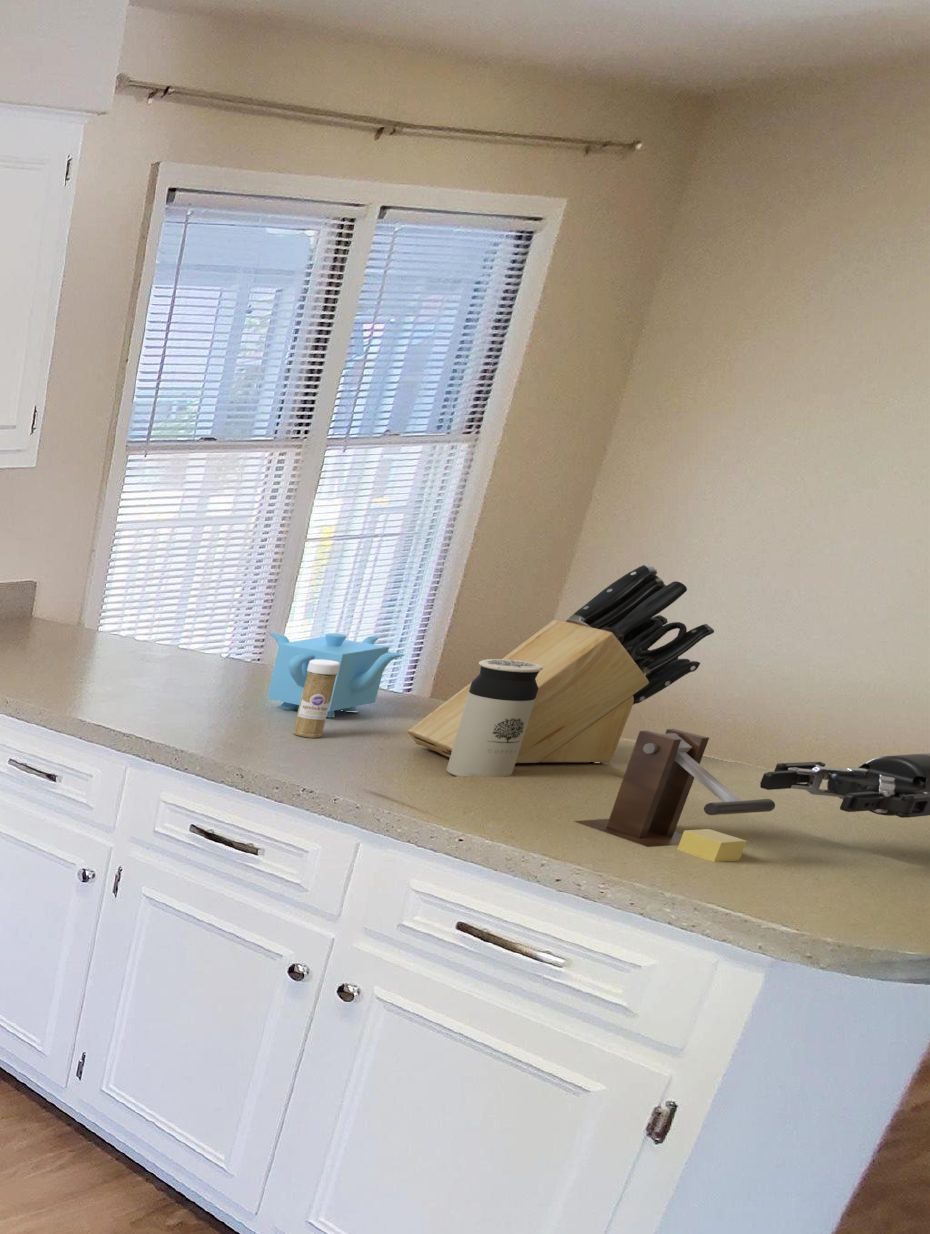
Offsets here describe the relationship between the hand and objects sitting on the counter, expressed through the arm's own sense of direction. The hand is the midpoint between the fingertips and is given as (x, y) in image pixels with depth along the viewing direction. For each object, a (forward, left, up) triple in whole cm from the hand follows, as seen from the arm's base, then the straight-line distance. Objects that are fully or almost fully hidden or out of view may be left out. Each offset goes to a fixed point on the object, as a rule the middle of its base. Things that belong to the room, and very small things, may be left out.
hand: (804, 791), depth 138 cm
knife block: (+46, -14, -10) cm, 49 cm away
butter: (+2, +8, -10) cm, 13 cm away
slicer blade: (+6, +8, 0) cm, 10 cm away
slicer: (+10, +8, -10) cm, 16 cm away
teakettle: (+80, -4, -10) cm, 81 cm away
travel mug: (+38, +4, -10) cm, 40 cm away
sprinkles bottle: (+64, +12, -10) cm, 66 cm away
